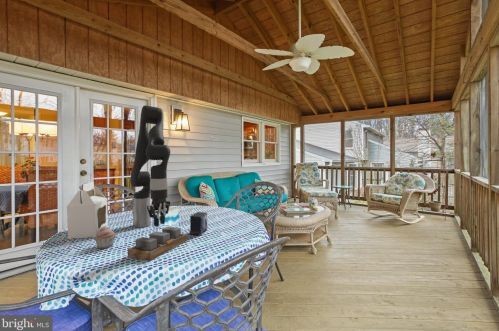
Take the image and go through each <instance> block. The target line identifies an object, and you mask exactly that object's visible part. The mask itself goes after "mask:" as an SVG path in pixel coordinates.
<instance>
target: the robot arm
mask: <svg viewBox="0 0 499 331" xmlns="http://www.w3.org/2000/svg"><path fill="white" fill-rule="evenodd" d="M147 124H150V125H153V126H152V127H151V128H150V129H149V130H148V128H147ZM138 128H139V129H138V136H137V141H136V147H135V153H134V160H133V165H132V169H131V174H130V185H131V187H134V188H139V187H142V188H141V189H140V190H139V191H136V192H135V193H133V210H132V226H133V227H135V228H146V227H149V226H151V219H152V218H153V226H154V227H159V226H160V224H161V225H164V224H166V215H168V214H169V210H170V206H171V201H169V200H167V198H168V179H167V176H168V175H167V172H168V162H169V159H170V156H171V148H170V146H168V144H167V145H166V144H165V137H164V111H163V108H160V107H158V106H151V105H146V104H145V105H143V106H142V108H141V111H140V118H139V127H138ZM149 160H150V161H161V163H159V164H156V165H152V166H151V167H150V172H149V171H147V170H146V171H145V170H144V171H141V170H142V168H143V167H144V166H145V164H147V163H148V161H149Z"/></svg>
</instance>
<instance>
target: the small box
mask: <svg viewBox="0 0 499 331" xmlns="http://www.w3.org/2000/svg"><path fill="white" fill-rule="evenodd" d="M189 218H190V219H189V220H190V221H189V225H190V226H189V235H190V236H191V235H192V236H201V235H203V234H204V233H205V232H206V231H208V212H205V211H204V212H202V211H197V212H195V213H193V214H192V215H189Z"/></svg>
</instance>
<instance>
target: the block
mask: <svg viewBox="0 0 499 331" xmlns="http://www.w3.org/2000/svg"><path fill="white" fill-rule="evenodd" d="M148 235H149V237H148V238H153V239H157V244H160V245H164V244H165V242H167V241H169V240H170V233H164V232H162V231H153V232H151V233H149V234H148Z"/></svg>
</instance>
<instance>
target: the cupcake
mask: <svg viewBox="0 0 499 331" xmlns="http://www.w3.org/2000/svg"><path fill="white" fill-rule="evenodd" d="M116 237H117V235H116V234H115V232H114V231H113V230H112V228H110V227H108V226H107V227H106V226H104V227H102V228H101V229H100V231H98V232H97V234H96V237H93V240H94V241H95V242H96V247H97V248H98V249H109V248H111V247H113V246H114V241H115V239H116Z"/></svg>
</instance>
